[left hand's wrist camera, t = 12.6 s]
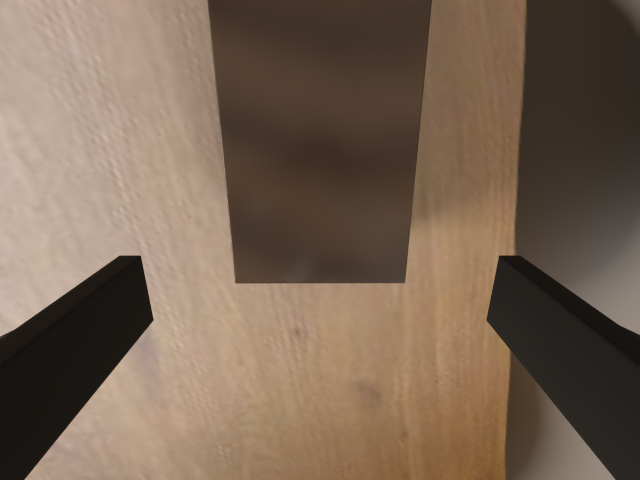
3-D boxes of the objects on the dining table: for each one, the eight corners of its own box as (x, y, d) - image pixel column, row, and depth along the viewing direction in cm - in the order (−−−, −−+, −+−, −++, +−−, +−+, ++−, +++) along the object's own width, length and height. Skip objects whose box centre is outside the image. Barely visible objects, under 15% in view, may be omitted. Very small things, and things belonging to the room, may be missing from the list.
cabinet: (244, 5, 23) (201, -59, 15) (394, 4, 23) (437, -60, 15) (259, 234, 29) (234, 283, 21) (380, 234, 29) (405, 283, 21)
